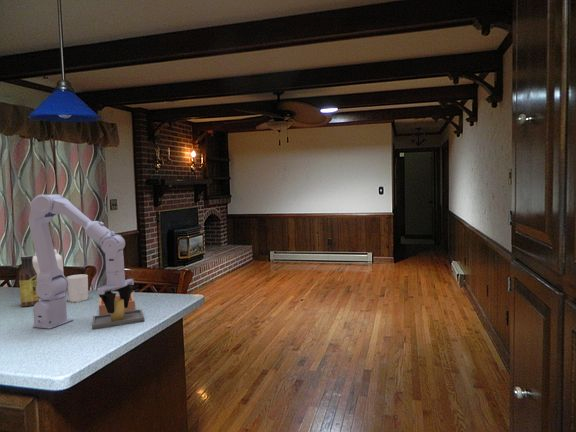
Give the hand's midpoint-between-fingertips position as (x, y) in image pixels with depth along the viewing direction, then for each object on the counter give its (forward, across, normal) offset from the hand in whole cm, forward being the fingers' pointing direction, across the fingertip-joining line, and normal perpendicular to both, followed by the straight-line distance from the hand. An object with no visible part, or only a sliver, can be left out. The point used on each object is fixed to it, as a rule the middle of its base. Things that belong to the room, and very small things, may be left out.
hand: (117, 310), depth 142 cm
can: (+4, +22, +60) cm, 64 cm away
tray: (+4, 0, 0) cm, 4 cm away
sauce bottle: (+4, +7, +52) cm, 53 cm away
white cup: (+4, +18, +38) cm, 42 cm away
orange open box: (+4, +10, +10) cm, 15 cm away
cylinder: (+3, 0, 0) cm, 3 cm away
